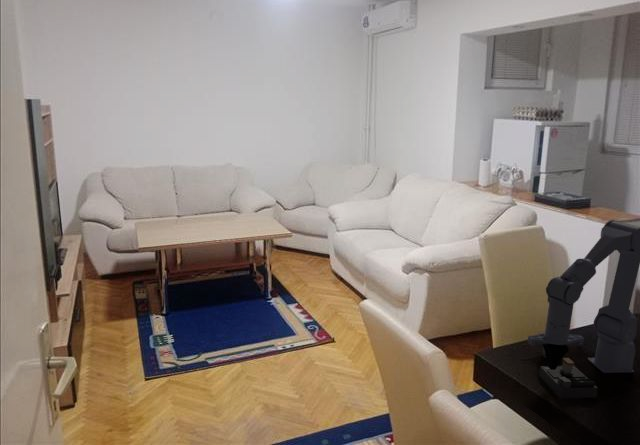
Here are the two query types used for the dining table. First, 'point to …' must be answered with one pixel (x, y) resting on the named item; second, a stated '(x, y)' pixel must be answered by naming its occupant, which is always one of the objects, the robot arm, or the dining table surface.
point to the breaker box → (568, 383)
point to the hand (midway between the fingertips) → (551, 367)
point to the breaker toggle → (567, 366)
